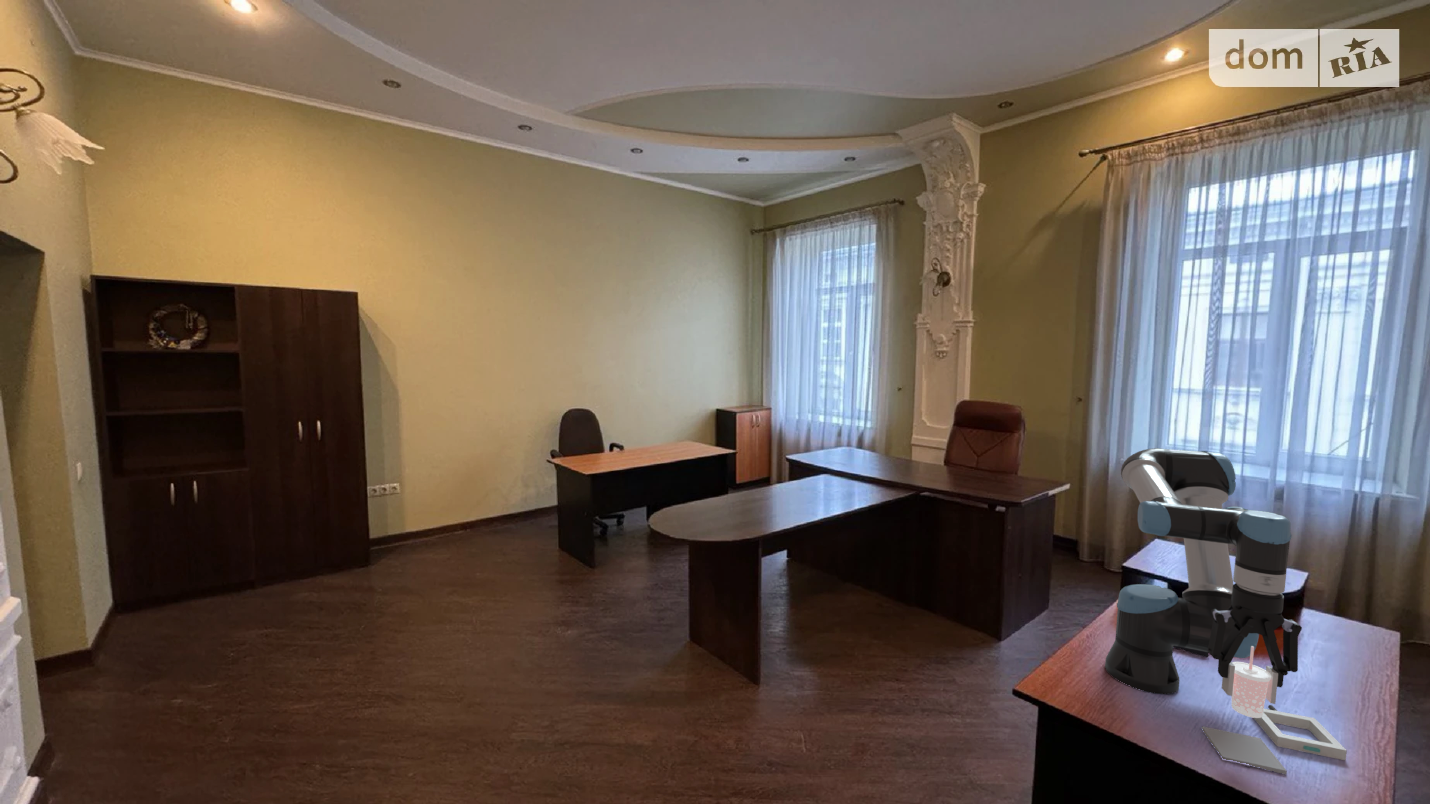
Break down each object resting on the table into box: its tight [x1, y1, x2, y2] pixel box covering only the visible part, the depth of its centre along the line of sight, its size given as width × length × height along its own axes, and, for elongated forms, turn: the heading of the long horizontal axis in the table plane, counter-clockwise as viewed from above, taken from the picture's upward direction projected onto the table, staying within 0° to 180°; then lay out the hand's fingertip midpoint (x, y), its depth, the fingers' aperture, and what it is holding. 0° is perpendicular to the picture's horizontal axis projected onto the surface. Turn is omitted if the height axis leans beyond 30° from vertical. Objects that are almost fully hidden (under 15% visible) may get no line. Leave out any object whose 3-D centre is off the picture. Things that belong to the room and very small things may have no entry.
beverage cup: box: [1231, 646, 1271, 719], centre depth 115 cm, size 6×6×14 cm
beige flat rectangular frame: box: [1253, 704, 1348, 761], centre depth 123 cm, size 11×16×2 cm
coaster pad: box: [1201, 725, 1288, 776], centre depth 117 cm, size 10×10×1 cm
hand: (1247, 695), depth 115 cm, fingers closed on beverage cup, 6 cm apart
